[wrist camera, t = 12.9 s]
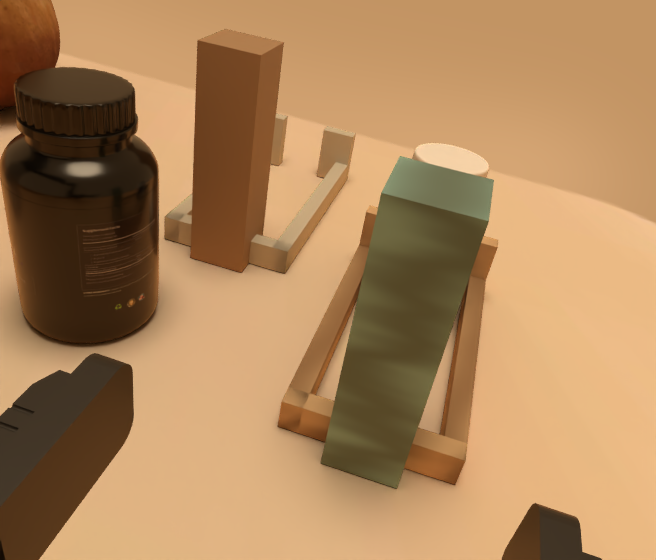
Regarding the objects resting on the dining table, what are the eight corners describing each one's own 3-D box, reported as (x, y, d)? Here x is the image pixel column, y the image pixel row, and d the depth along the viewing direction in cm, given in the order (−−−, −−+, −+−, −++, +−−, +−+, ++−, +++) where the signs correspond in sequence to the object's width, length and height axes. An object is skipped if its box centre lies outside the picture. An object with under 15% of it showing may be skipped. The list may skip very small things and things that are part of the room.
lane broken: (155, 247, 38) (154, 29, 31) (255, 154, 52) (271, -10, 45) (278, 283, 37) (307, 66, 30) (347, 178, 51) (378, 14, 44)
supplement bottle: (-6, 301, 32) (-49, 68, 25) (108, 257, 36) (97, 51, 30) (73, 369, 29) (46, 123, 22) (185, 311, 33) (192, 95, 27)
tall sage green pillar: (268, 445, 27) (308, 173, 19) (358, 258, 41) (401, 60, 34) (452, 507, 25) (567, 241, 18) (479, 292, 40) (550, 94, 32)
